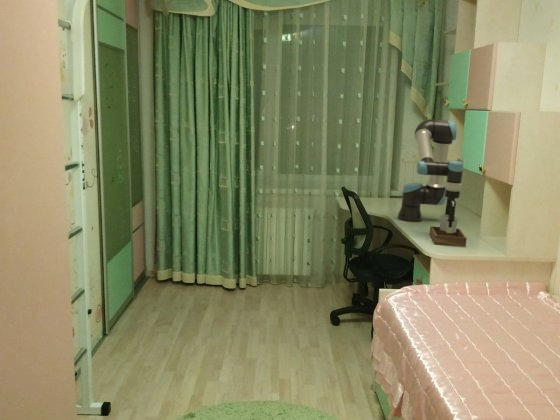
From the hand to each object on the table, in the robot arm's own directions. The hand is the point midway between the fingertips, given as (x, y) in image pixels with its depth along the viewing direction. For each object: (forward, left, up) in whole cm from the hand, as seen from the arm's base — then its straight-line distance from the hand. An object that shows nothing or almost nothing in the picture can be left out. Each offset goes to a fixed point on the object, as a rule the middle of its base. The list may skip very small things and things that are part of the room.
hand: (447, 230), depth 292 cm
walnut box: (0, 0, -6) cm, 6 cm away
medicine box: (0, 0, -1) cm, 1 cm away
